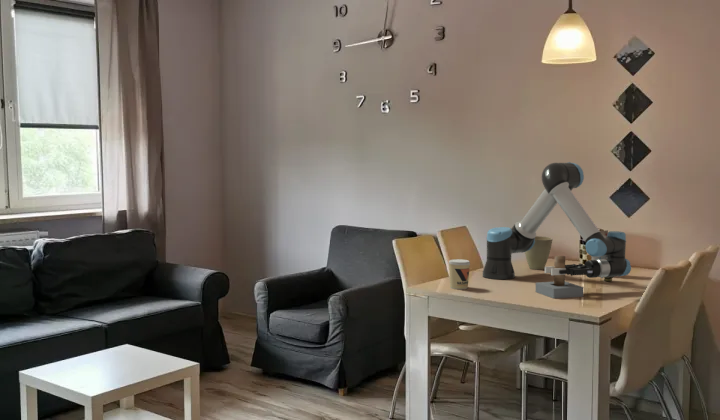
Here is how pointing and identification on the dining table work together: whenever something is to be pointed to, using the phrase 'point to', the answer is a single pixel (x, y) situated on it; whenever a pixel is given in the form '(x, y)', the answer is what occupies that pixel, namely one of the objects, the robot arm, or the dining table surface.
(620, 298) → the dining table surface
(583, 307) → the dining table surface
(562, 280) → the walnut peg
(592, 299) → the dining table surface
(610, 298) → the dining table surface
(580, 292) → the socket block
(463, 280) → the coffee cup
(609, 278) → the cup
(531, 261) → the plant pot
